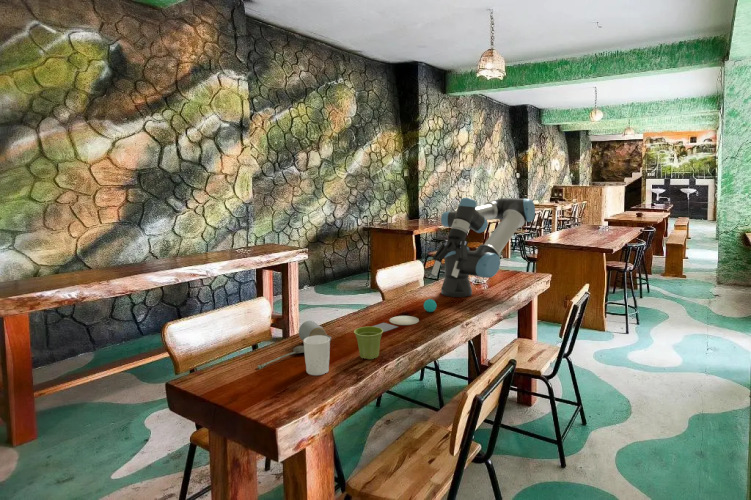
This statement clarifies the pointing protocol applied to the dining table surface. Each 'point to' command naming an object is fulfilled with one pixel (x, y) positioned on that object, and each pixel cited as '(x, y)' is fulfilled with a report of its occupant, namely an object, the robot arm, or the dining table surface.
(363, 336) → the plant pot
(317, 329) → the ceramic mug
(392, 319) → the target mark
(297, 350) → the soupspoon
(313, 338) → the white cup
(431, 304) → the ball
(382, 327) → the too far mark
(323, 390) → the dining table surface
